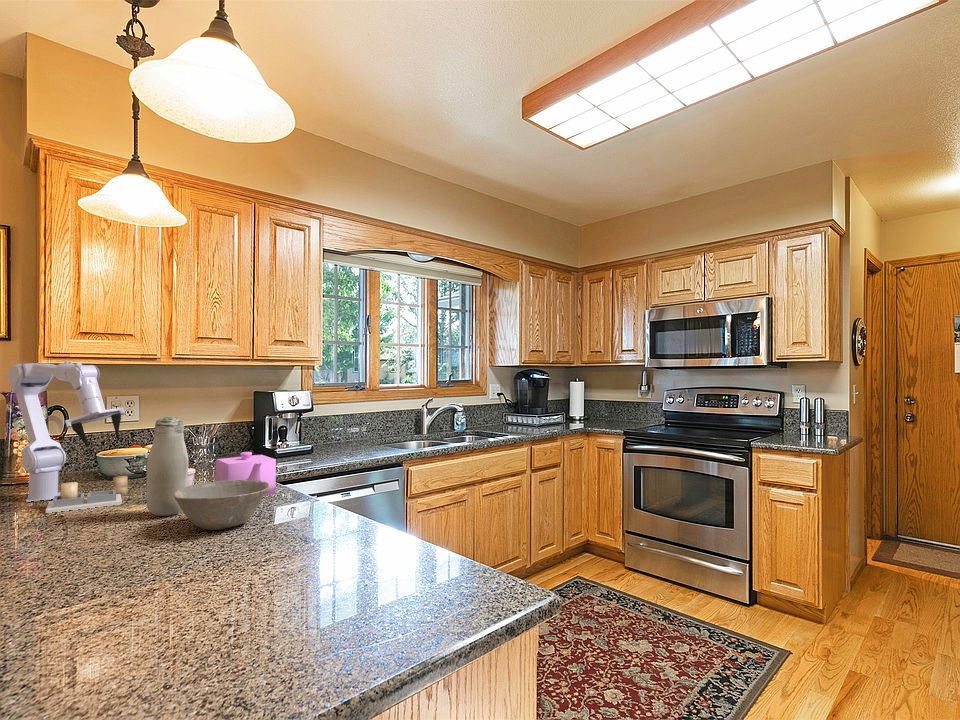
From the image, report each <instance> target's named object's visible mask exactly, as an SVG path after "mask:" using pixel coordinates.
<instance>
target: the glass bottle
mask: <svg viewBox="0 0 960 720" xmlns="http://www.w3.org/2000/svg"><path fill="white" fill-rule="evenodd" d="M184 431H185V424H184V422H183V419H181V418H179V417H177V416H175V417H174V416H165V417H161V418H158V419H157V420H156V422H155V424H154V436H153V441H152V444H151V447H150V450H149V452H148V456H147V460H146V487H145V488H146V491H145V492H146V497H145V498H146V499H145V500H146V507H147V510H148V511H149V513H151V514H152V515H154V516H158V517H168V516H172V515H176V514H178V513H180V512H181V511H182V510H181V508H180V506H179V504H178V503H177V501H176V500H175V498H174V493H175V492H176V491H177V490H179V489H181V488H184V487H187V477H188V468H189V454H188V450H187V445H186V443H185V437H184V436H185V435H184Z"/></svg>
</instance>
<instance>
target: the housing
mask: <svg viewBox="0 0 960 720" xmlns="http://www.w3.org/2000/svg"><path fill="white" fill-rule="evenodd" d="M78 486H79V483H78V482H77V481H71V482H70V481H68V482H64V483H61V484H60V496H54V499H53V500H52V501H51V500H50V501H48V504H47V506H46V509H45V514H46V513H49V514H53V513H52V512H57V513H62V512H61V511H65V512H70V511H69V510H73V511H79V510H78V509H82V510H88V509H87V508H90V509H96V508H95V507H98V508H104V507H103V506H107V507H113V505H115V506H121V505H120V504H122V505H123V501H122V500H123V499H122V496H121V494H116V490H113V489H111V490H110V489H109V490H101V491H100V490H99V491H90V492H87V494H86V495H87V497H85V493H84V492H81V493H78V488H79V487H78Z"/></svg>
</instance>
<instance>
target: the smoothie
mask: <svg viewBox="0 0 960 720" xmlns="http://www.w3.org/2000/svg"><path fill="white" fill-rule="evenodd" d="M195 473H196V469H195V468H193V467H192V468H191V467H188V477H187V486H190V485H194V478H195Z"/></svg>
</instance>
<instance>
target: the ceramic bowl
mask: <svg viewBox="0 0 960 720" xmlns="http://www.w3.org/2000/svg"><path fill="white" fill-rule="evenodd" d="M268 489H269V484H268V483H267V482H262V481H256V480H249V481H248V480H224V481H216V480H215V481H206V482H201V483H195V484H193V485H190V486H187V487H184V488H181V489H179V490H177V491H176V492H175V493H174V498H175V500H176V501H177V503H178V504H179V506H180V508H181V511H182V513H183V515H184V516H185V517H186V518H187V519H188V520H189V521H190V522H191V523H193V524H194V525H195V526H196V527H198V528H201V529H203V530H206V531H207V530H208V531H219V530H224V529H226V530H227V529H229V528H233V527H237V526H241V525H243V524H244V523H245V522H247V521H249V519H251V517H252V516H253V514H254V512H255V511H256V509H257V508H258V506H259V505H260V502H262V500H263V498H264V497H265V496H266V495H265V493H266V492H267V490H268Z"/></svg>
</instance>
